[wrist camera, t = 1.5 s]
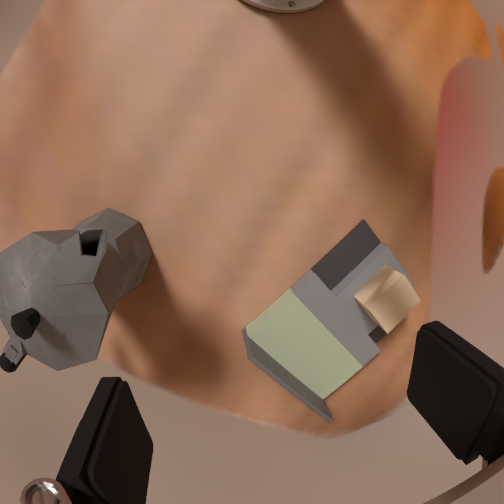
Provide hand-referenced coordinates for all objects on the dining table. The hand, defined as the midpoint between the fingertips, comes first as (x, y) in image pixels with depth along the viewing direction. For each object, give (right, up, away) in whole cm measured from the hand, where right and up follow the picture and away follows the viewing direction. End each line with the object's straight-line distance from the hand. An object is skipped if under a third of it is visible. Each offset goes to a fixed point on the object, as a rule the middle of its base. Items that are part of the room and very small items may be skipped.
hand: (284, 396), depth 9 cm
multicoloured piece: (+9, -3, +26) cm, 28 cm away
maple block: (+13, 0, +24) cm, 27 cm away
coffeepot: (-16, +4, +22) cm, 28 cm away
